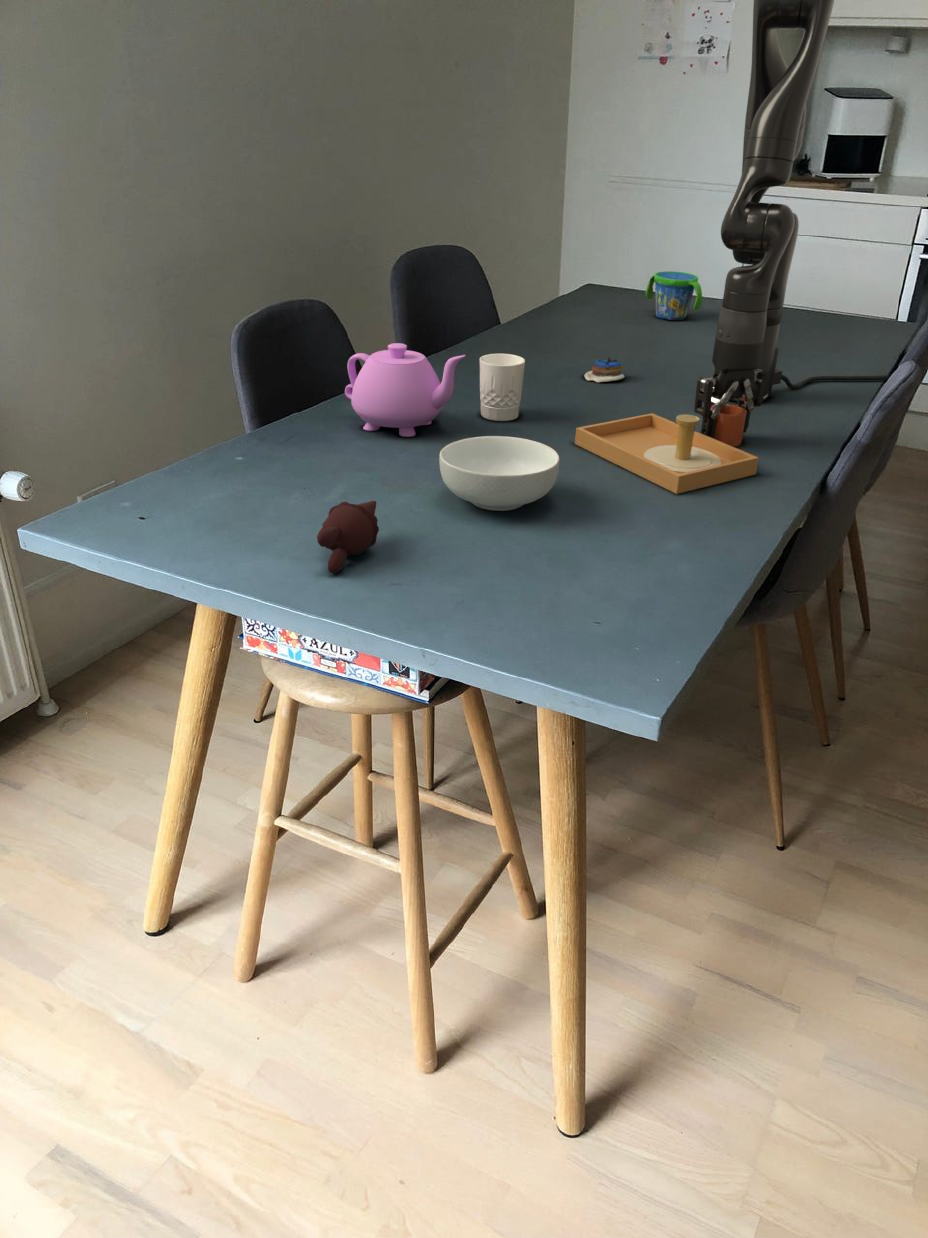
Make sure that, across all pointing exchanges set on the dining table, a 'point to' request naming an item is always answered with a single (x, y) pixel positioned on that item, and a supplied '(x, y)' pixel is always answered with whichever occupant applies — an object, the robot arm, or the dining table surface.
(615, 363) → the dessert
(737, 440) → the terracotta cup
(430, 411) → the teapot
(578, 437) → the serving tray
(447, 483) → the cereal bowl
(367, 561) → the dining table surface
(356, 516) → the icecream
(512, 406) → the white cup
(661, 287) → the snack cup
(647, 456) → the round base post stand
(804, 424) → the dining table surface
